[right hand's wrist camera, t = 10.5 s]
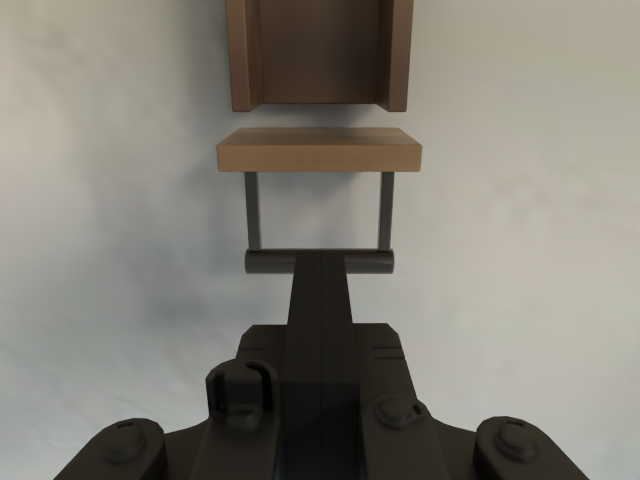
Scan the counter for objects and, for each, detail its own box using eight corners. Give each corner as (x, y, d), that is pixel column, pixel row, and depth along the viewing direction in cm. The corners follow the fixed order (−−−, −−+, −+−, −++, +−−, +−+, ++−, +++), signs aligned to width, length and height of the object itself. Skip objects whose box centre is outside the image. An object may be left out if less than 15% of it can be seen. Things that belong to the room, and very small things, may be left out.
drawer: (392, 244, 28) (411, 290, 22) (246, 244, 28) (227, 290, 22) (423, -279, 20) (467, -428, 14) (214, -279, 20) (169, -428, 14)
